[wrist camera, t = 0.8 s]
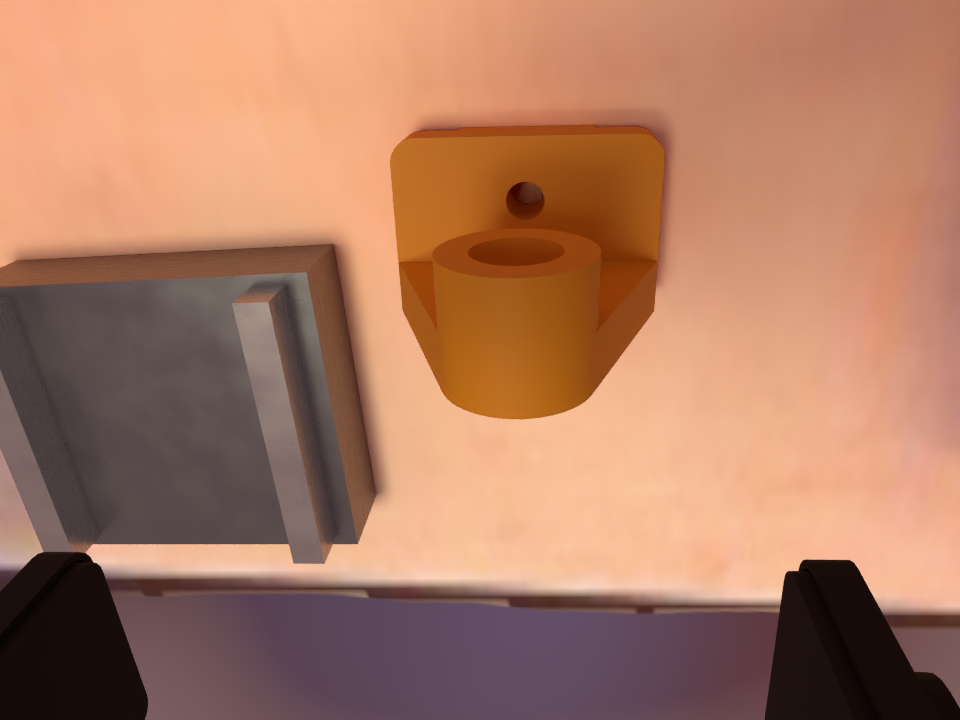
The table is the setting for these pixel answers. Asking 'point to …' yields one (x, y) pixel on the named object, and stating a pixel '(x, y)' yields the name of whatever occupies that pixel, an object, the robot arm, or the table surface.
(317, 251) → the block
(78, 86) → the table surface
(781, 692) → the robot arm
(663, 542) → the table surface
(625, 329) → the bracket
